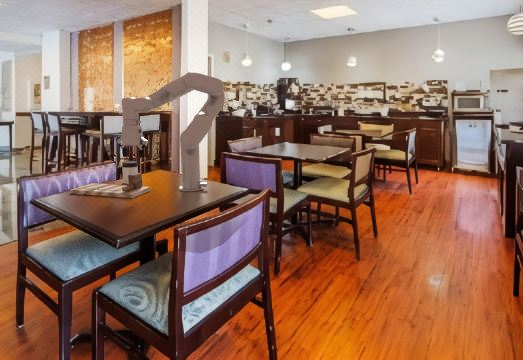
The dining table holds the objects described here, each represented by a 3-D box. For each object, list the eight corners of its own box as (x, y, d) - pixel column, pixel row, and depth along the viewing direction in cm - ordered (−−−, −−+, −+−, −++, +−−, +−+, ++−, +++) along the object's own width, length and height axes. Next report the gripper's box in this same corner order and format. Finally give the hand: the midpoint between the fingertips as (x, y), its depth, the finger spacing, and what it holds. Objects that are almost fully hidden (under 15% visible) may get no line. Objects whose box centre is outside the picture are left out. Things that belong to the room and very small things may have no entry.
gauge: (142, 186, 198) (141, 173, 197) (127, 192, 186) (126, 178, 184) (135, 185, 199) (134, 172, 198) (120, 191, 187) (119, 177, 186)
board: (150, 190, 198) (150, 186, 198) (132, 198, 183) (132, 193, 183) (92, 186, 208) (92, 183, 208) (70, 193, 193) (70, 189, 193)
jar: (126, 184, 213) (125, 163, 210) (120, 182, 218) (118, 162, 216) (141, 182, 219) (140, 162, 216) (135, 180, 224) (133, 160, 222)
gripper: (150, 122, 190) (152, 156, 194) (120, 122, 195) (123, 155, 199) (142, 123, 183) (144, 158, 187) (111, 123, 188) (114, 157, 192)
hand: (133, 156), depth 193 cm, fingers open, 9 cm apart
